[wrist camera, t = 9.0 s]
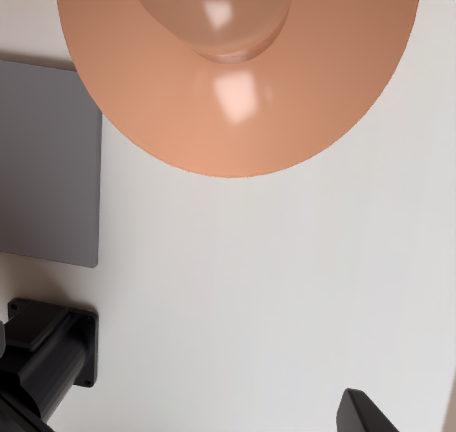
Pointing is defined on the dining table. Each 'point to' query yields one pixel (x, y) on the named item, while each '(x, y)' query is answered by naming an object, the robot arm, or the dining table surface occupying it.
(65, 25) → the lid
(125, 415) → the dining table surface
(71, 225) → the mat
